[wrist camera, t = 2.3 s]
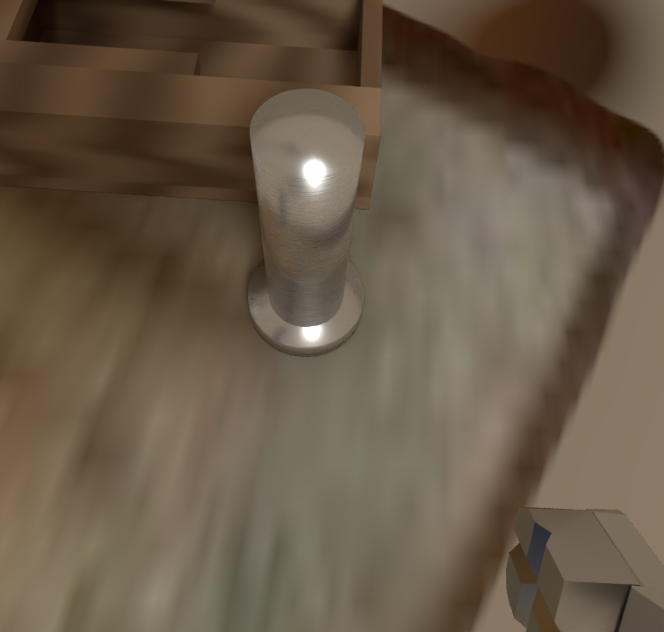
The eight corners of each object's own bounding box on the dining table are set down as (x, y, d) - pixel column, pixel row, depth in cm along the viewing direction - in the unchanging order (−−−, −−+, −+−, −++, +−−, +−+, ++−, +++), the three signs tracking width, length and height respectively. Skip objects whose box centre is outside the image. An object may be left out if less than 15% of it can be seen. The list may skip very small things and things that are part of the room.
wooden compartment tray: (372, 32, 38) (383, -55, 33) (368, 209, 32) (380, 135, 27) (31, 8, 37) (-12, -83, 32) (-40, 183, 31) (-107, 103, 26)
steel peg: (243, 352, 28) (205, 197, 17) (255, 253, 30) (228, 61, 19) (360, 359, 28) (396, 209, 17) (363, 259, 30) (396, 72, 19)
